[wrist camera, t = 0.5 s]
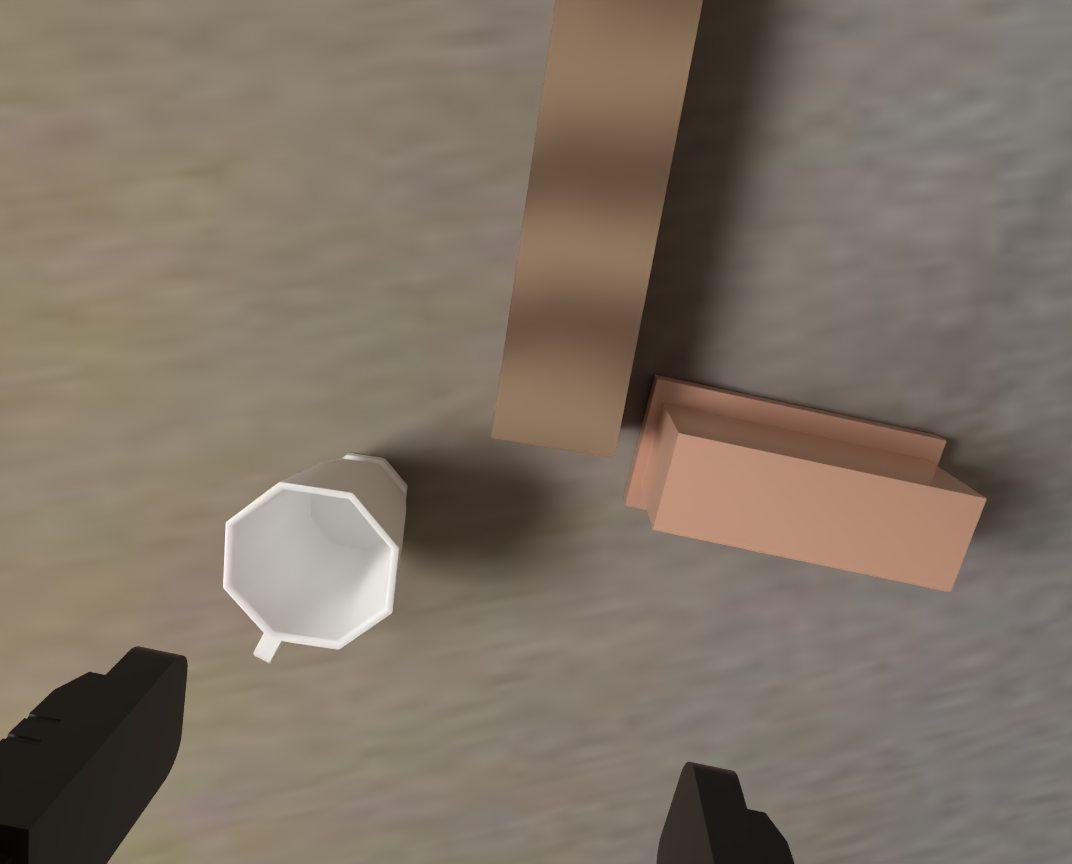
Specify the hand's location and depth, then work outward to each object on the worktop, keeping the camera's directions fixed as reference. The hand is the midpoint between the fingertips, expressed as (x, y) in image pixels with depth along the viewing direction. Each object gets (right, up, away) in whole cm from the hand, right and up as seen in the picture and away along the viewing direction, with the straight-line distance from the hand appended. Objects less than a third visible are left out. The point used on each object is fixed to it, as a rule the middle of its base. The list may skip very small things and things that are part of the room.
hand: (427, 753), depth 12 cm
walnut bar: (+4, +16, +21) cm, 27 cm away
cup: (-7, +1, +25) cm, 26 cm away
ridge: (+13, +3, +23) cm, 27 cm away
